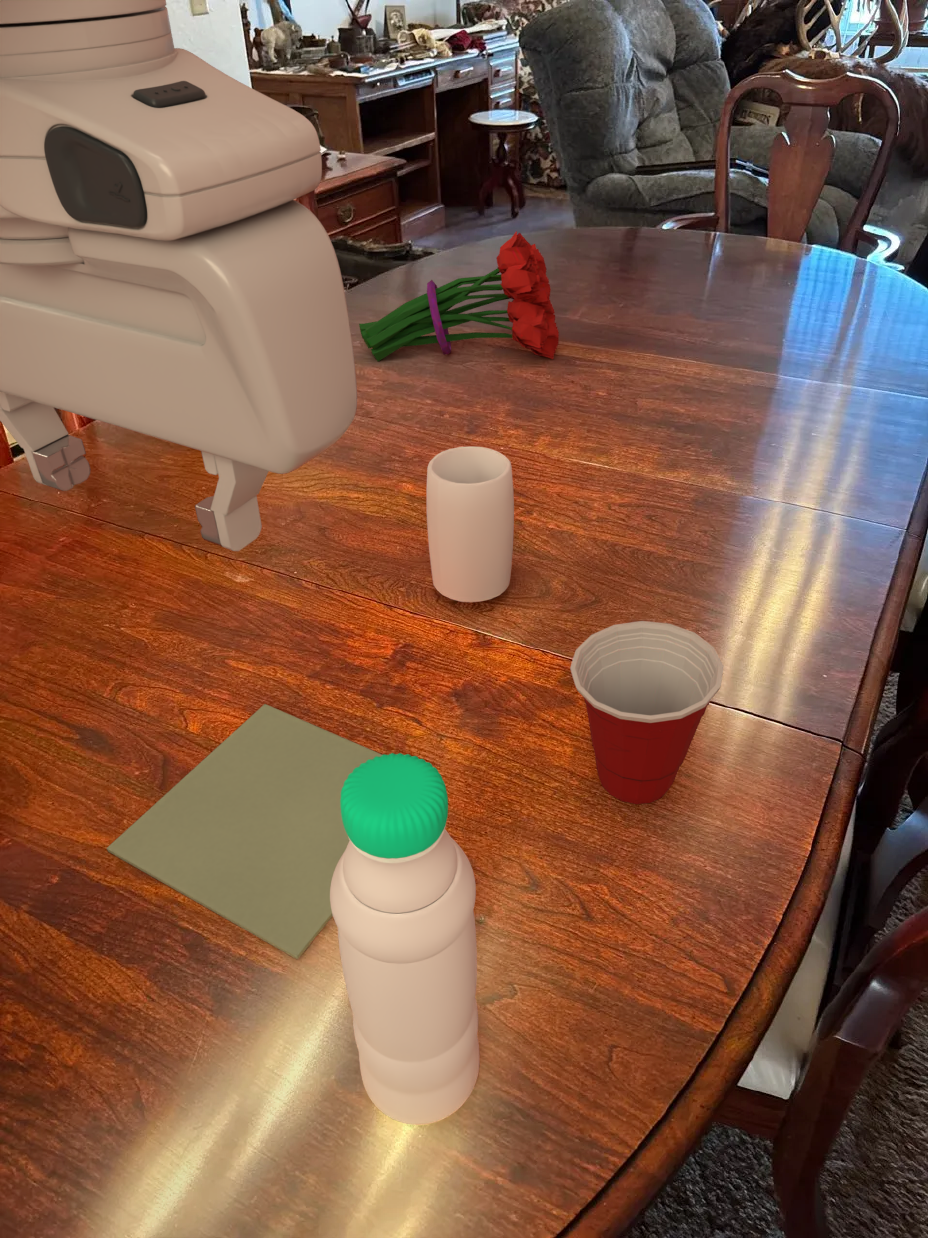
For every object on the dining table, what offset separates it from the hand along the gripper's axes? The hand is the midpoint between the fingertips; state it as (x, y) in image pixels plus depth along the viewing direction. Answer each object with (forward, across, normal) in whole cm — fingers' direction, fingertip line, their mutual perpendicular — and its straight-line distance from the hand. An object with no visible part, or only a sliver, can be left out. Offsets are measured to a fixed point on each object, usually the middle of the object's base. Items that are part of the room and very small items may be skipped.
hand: (145, 509), depth 37 cm
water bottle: (+36, +11, +1) cm, 38 cm away
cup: (+36, -11, +45) cm, 59 cm away
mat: (+36, -9, +12) cm, 39 cm away
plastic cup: (+36, +13, +29) cm, 48 cm away
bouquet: (+36, -44, +98) cm, 113 cm away
